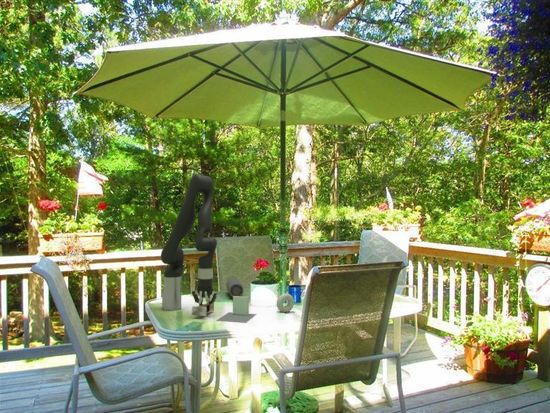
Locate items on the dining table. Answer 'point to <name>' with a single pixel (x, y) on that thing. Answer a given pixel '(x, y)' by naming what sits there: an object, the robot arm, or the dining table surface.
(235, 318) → the mat
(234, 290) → the bluetooth speaker
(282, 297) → the donut
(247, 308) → the tile
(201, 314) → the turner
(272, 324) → the dining table surface
